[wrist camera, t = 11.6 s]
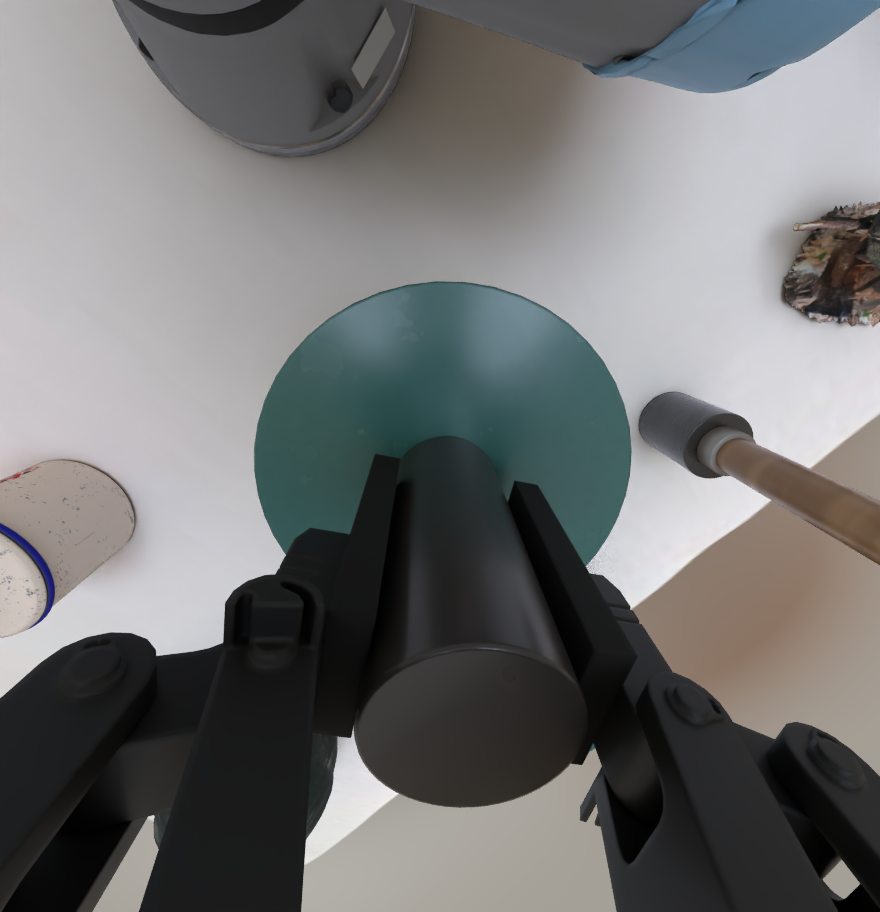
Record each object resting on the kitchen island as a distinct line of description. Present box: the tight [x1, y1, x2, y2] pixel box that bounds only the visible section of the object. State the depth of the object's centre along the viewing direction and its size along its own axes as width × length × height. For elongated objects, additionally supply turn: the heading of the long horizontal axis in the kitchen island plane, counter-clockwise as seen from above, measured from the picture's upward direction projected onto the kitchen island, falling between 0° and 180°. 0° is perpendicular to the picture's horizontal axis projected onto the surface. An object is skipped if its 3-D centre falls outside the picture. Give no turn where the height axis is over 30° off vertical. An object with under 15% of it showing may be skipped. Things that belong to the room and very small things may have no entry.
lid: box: [254, 282, 631, 808], centre depth 11 cm, size 13×13×10 cm
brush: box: [639, 392, 880, 565], centre depth 22 cm, size 4×4×22 cm
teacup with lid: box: [0, 460, 134, 638], centre depth 28 cm, size 12×9×12 cm
